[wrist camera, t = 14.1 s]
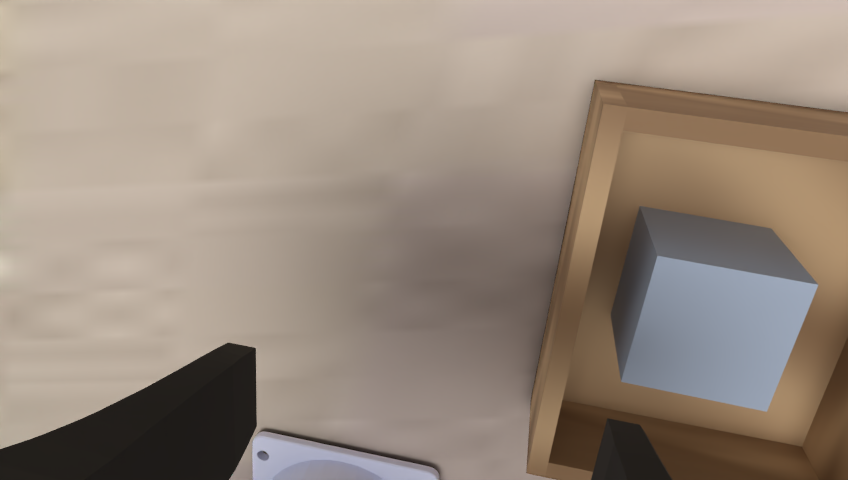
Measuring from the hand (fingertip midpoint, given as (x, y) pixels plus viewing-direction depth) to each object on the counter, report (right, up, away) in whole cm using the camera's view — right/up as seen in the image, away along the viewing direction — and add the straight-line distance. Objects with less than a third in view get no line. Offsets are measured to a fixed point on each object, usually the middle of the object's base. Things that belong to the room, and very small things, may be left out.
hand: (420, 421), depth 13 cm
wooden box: (+10, +2, +9) cm, 13 cm away
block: (+9, +3, +8) cm, 12 cm away
